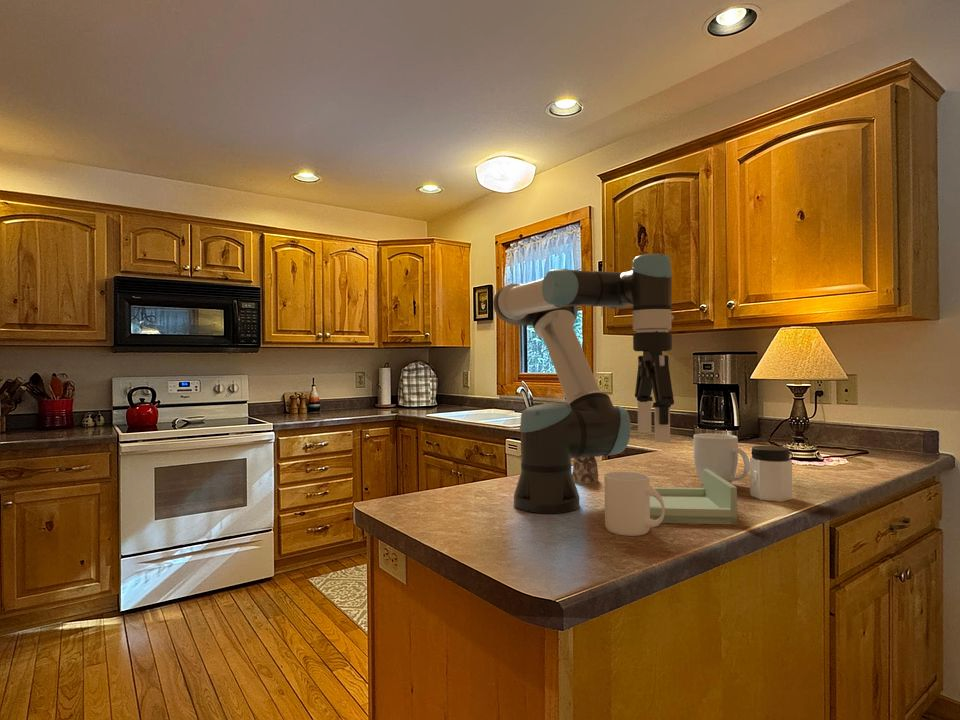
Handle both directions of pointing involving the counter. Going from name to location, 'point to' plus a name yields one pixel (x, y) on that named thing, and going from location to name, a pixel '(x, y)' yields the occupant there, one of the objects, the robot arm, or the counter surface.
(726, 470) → the mug
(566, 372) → the robot arm
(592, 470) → the figurine
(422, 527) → the counter surface
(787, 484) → the jar
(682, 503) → the tray
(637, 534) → the mug
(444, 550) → the counter surface
